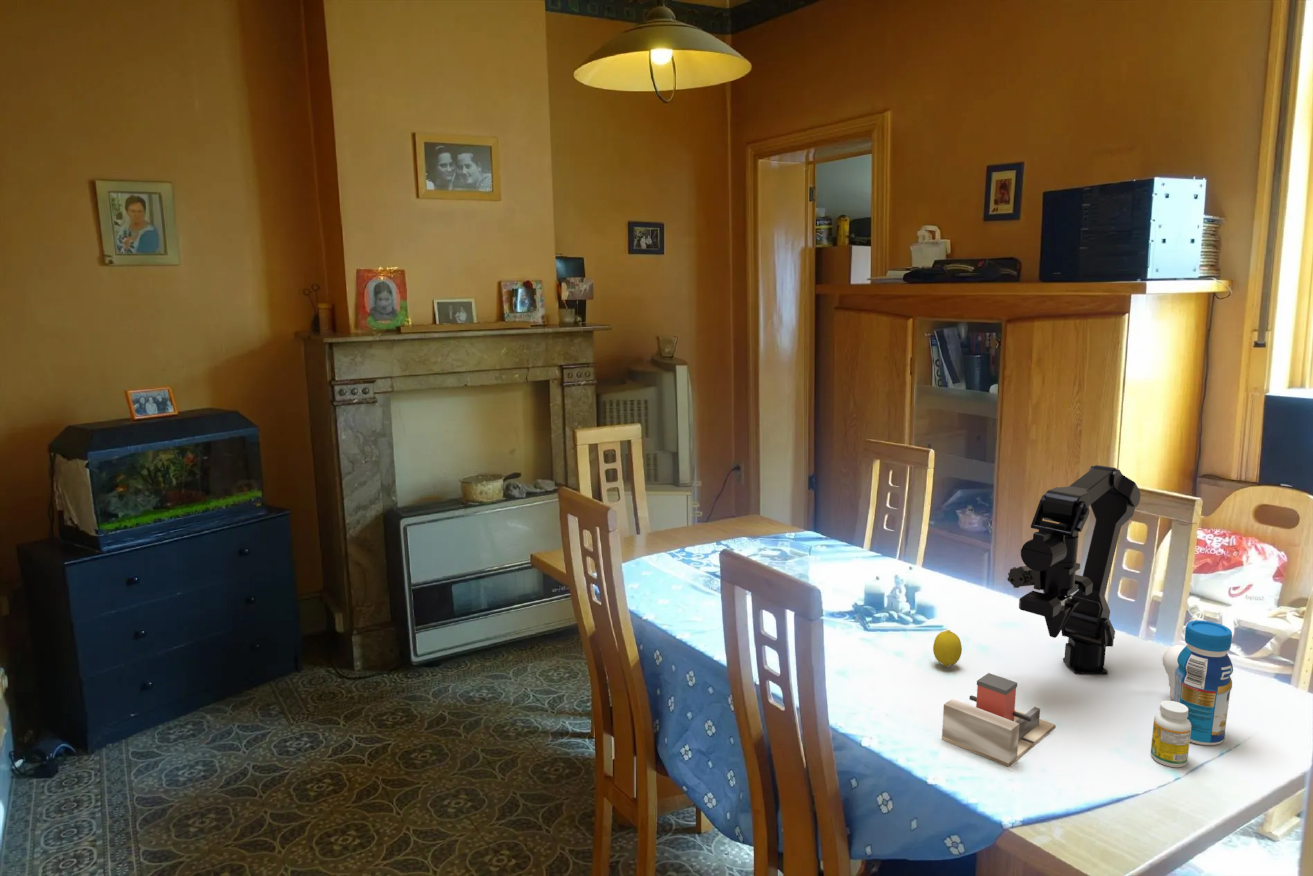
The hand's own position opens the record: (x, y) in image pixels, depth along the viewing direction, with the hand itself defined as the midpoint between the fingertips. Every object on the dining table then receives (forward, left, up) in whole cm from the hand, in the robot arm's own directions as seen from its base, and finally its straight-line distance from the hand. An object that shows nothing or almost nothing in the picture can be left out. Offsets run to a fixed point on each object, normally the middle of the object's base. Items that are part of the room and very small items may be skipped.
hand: (1053, 636), depth 166 cm
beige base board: (+14, +14, -12) cm, 23 cm away
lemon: (+16, -12, -12) cm, 23 cm away
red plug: (+16, +16, -12) cm, 25 cm away
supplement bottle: (-11, +22, -12) cm, 27 cm away
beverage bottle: (-20, +14, -12) cm, 27 cm away
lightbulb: (-23, +2, -12) cm, 26 cm away
